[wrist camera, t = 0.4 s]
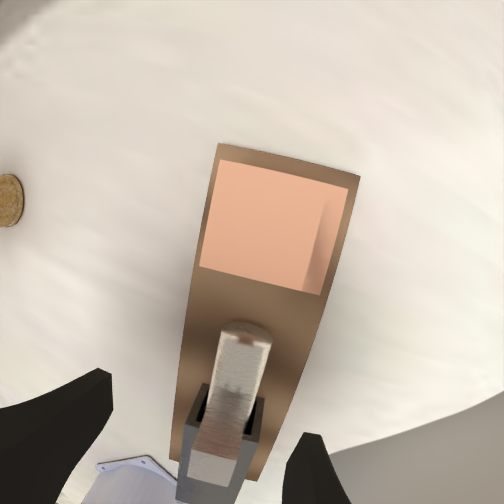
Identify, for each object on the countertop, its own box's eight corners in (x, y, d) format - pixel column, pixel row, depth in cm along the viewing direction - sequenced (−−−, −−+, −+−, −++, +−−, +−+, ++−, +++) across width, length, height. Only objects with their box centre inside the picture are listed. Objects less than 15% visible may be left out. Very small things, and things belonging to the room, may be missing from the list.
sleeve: (237, 475, 22) (229, 513, 18) (188, 463, 23) (175, 499, 18) (265, 398, 20) (258, 443, 16) (202, 382, 20) (184, 423, 16)
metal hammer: (229, 472, 21) (212, 545, 14) (196, 464, 22) (172, 534, 14) (273, 329, 18) (262, 418, 11) (226, 317, 18) (189, 399, 11)
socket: (312, 265, 18) (319, 295, 13) (222, 244, 18) (199, 266, 13) (332, 187, 17) (348, 189, 12) (238, 165, 17) (219, 159, 12)
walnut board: (258, 471, 24) (257, 481, 22) (172, 450, 24) (169, 458, 23) (355, 176, 17) (360, 176, 16) (222, 145, 18) (218, 142, 17)
